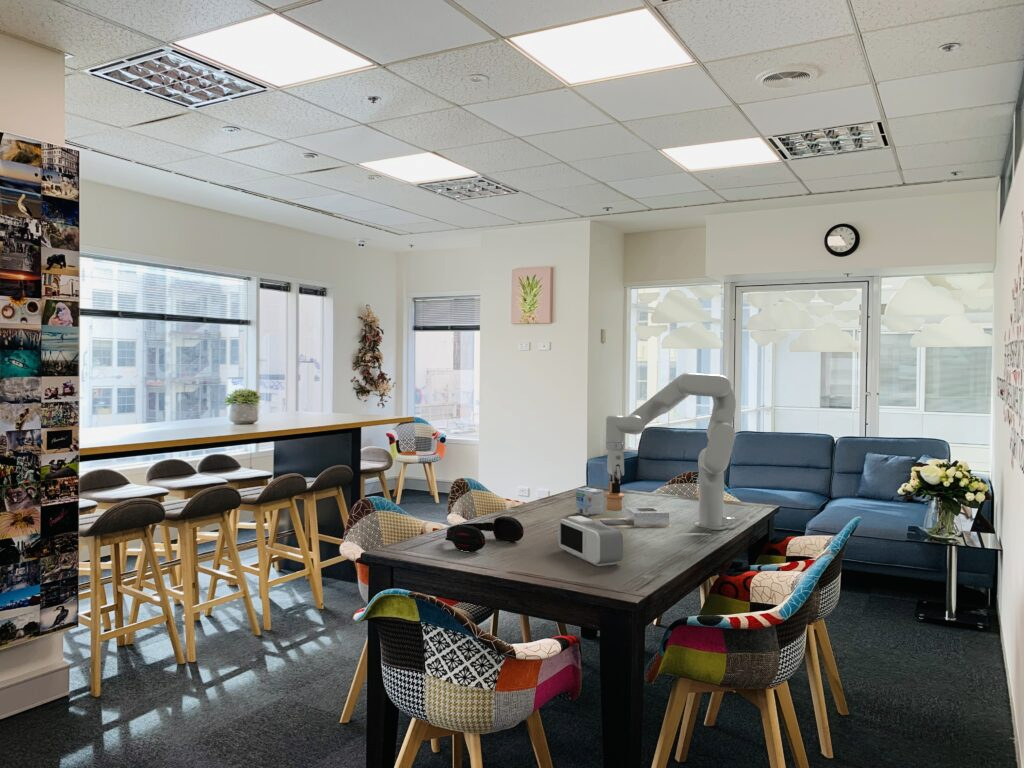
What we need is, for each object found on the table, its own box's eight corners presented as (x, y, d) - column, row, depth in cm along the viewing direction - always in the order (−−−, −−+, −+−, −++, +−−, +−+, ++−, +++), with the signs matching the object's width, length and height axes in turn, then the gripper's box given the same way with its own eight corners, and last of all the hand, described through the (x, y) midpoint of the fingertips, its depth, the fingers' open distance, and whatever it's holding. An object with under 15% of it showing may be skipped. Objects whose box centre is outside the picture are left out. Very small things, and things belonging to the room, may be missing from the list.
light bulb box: (575, 513, 336) (575, 488, 336) (587, 511, 340) (587, 486, 340) (592, 516, 327) (592, 491, 327) (603, 515, 331) (604, 490, 331)
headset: (509, 558, 255) (509, 531, 255) (433, 552, 262) (434, 526, 262) (528, 540, 283) (528, 516, 282) (459, 535, 289) (459, 512, 289)
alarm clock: (557, 550, 266) (558, 515, 266) (581, 548, 270) (582, 513, 270) (597, 569, 241) (597, 530, 241) (623, 566, 245) (623, 528, 245)
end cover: (621, 507, 313) (621, 480, 313) (625, 511, 306) (626, 483, 306) (602, 507, 313) (603, 480, 312) (606, 511, 305) (607, 483, 305)
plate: (659, 520, 320) (659, 505, 320) (673, 529, 302) (673, 513, 302) (592, 521, 317) (592, 506, 317) (602, 530, 300) (602, 514, 299)
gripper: (629, 448, 301) (629, 495, 301) (619, 444, 317) (618, 489, 318) (610, 448, 300) (610, 495, 300) (601, 444, 317) (600, 489, 317)
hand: (614, 491), depth 309 cm, fingers closed on end cover, 4 cm apart
